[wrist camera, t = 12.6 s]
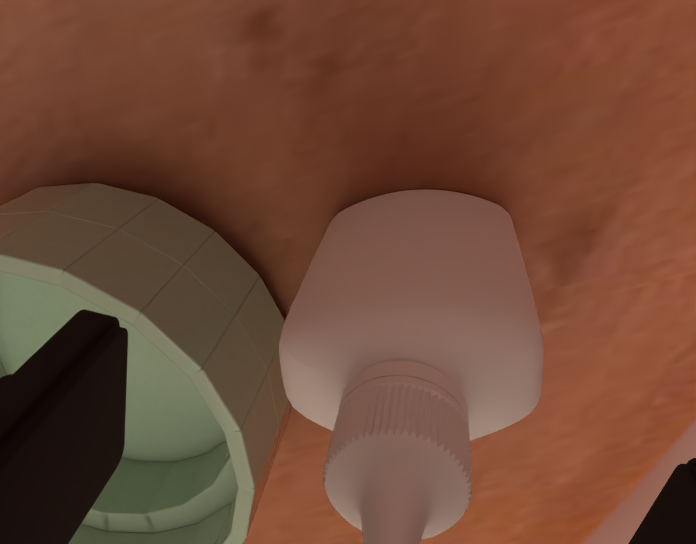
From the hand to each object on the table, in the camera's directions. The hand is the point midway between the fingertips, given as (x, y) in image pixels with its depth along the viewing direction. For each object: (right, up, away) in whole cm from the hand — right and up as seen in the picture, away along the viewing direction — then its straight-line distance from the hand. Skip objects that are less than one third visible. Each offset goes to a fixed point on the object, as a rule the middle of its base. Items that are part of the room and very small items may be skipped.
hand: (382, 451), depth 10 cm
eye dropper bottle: (+2, +4, +9) cm, 10 cm away
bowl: (-9, 0, +12) cm, 15 cm away
